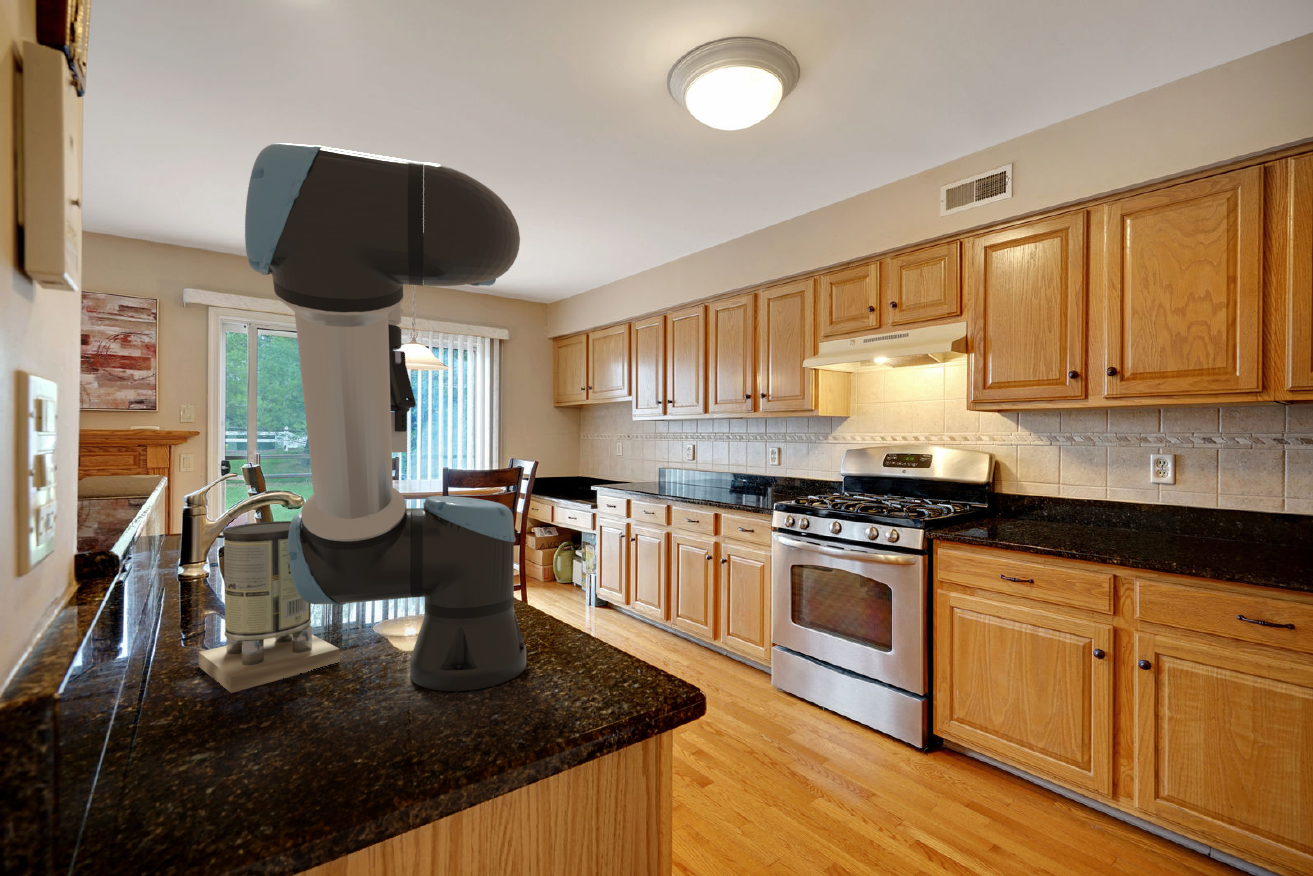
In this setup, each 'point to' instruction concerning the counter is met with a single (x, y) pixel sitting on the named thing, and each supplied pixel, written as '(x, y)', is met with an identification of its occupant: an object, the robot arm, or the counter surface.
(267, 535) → the coffee can
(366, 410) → the robot arm
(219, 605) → the counter surface
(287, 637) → the peg set
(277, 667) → the stand plate
